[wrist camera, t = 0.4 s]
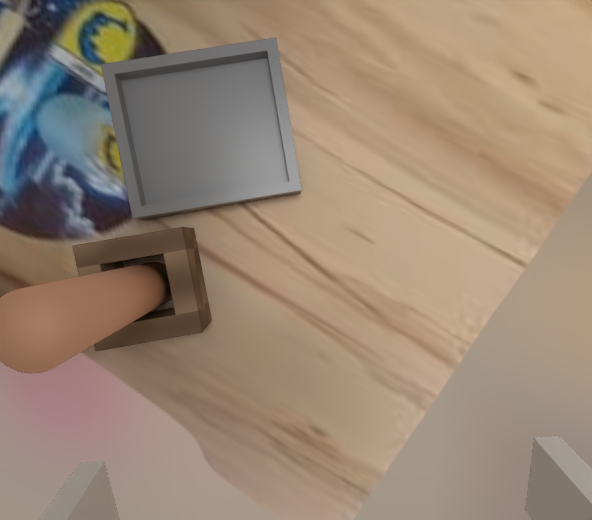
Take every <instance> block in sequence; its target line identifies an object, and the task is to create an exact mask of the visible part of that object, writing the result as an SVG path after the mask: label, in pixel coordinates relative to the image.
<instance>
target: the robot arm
mask: <svg viewBox="0 0 592 520" xmlns="http://www.w3.org/2000/svg"><path fill="white" fill-rule="evenodd" d="M525 510H526V511H527V513H528V514H529V516H530V517H531V519H532V520H592V469H591V468H590V467H589V466H588V465H587V464H586V463H585V462H584V461H583V460H582V459H581V458H580V457H579V456H578V455H577V454H576V453H575V452H574V451H573V449H571V447H570V446H569V445H567V443H566V442H565V441H564V440H563V439H562V438H561V437H560V436H558V437H541V438H534V442H533V450H532V459H531V466H530V474H529V482H528V491H527V498H526V506H525ZM39 520H119V516H118V512H117V508H116V504H115V500H114V496H113V493H112V489H111V485H110V481H109V477H108V473H107V469H106V466H105V462H85V463H80V464H79V465H78V466H77V468H76V469H75V471H74V472H73V473H72V475H71V476H70V477H69V479H68V480H67V481H66V483H65V484H64V485H63V487H62V488H61V490H60V491H59V492H58V494H57V495H56V496H55V498H54V499H53V501H52V502H51V503H50V505H49V506H48V507H47V509H46V510H45V511H44V513H43V514H42V515H41V517H40V518H39Z"/></svg>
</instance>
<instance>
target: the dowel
mask: <svg viewBox="0 0 592 520" xmlns="http://www.w3.org/2000/svg"><path fill="white" fill-rule="evenodd" d="M171 298H172V294H171V289H170V284H169V279H168V274H167V269H166V264H165V263H163V262H158V261H154V262H148V263H143V264H138V265H133V266H128V267H124V268H119V269H114V270H109V271H104V272H99V273H94V274H89V275H85V276H80V277H75V278H70V279H65V280H60V281H55V282H51V283H46V284H41V285H36V286H31V287H26V288H21V289H17V290H14V291H11V292H9V293H7V294H5V295H4V296H2V297H1V298H0V361H1V362H2V363H4V364H5V365H6V366H8V367H10V368H11V369H14V370H16V371H20V372H24V373H40V372H45V371H48V370H50V369H53V368H54V367H56V366H58V365H60V364H61V363H63V362H65V361H66V360H68V359H70V358H72V357H73V356H75V355H77V354H78V353H80V352H82V351H84V350H85V349H87V348H89V347H90V346H92V345H94V344H96V343H97V342H99V341H101V340H102V339H104V338H106V337H108V336H109V335H111V334H113V333H114V332H116V331H118V330H120V329H121V328H123V327H125V326H126V325H128V324H130V323H131V322H133V321H135V320H137V319H138V318H140V317H142V316H143V315H145V314H147V313H149V312H150V311H152V310H154V309H155V308H157V307H159V306H160V305H162V304H164V303H166V302H167V301H169V300H170V299H171Z"/></svg>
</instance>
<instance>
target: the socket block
mask: <svg viewBox="0 0 592 520" xmlns="http://www.w3.org/2000/svg"><path fill="white" fill-rule="evenodd" d="M72 247H73V251H74V256H75V260H76V265H77V269H78V274H79V277H80V276H85V275H89V274H94V273H99V272H104V271H109V270H114V269H119V268H124V264H123V261H124V260H129V259H135V258H141V257H147V256H153V255H159V254H164V259H165V264H166V269H167V274H168V279H169V284H170V289H171V294H172V299H173V304H174V308H168V309H163V310H157V311H151V312H149V313H147V314H145V315H143V316H142V317H140V318H138V319H137V320H135V321H133V322H131V323H130V324H128V325H126V326H125V327H123V328H121V329H120V330H118V331H116V332H114V333H113V334H111V335H109V336H108V337H106V338H104V339H102V340H101V341H99V342H97V343H96V344H94V346H95V351H101V350H106V349H112V348H118V347H123V346H129V345H134V344H140V343H145V342H151V341H156V340H162V339H168V338H173V337H179V336H184V335H190V334H195V333H201V332H203V331H204V329H205V328H206V327H207V326H208V324H209V323H210V322H211V321H212V319H211V314H210V309H209V304H208V298H207V293H206V288H205V283H204V278H203V273H202V267H201V262H200V257H199V252H198V247H197V241H196V236H195V231H194V228H184V227H180V228H174V229H168V230H162V231H157V232H151V233H145V234H139V235H133V236H127V237H121V238H115V239H109V240H103V241H98V242H92V243H86V244H80V245H74V246H72Z"/></svg>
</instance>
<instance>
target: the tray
mask: <svg viewBox="0 0 592 520" xmlns="http://www.w3.org/2000/svg"><path fill="white" fill-rule="evenodd" d="M101 67H102V72H103V77H104V82H105V87H106V91H107V96H108V101H109V106H110V111H111V116H112V120H113V125H114V130H115V135H116V140H117V145H118V150H119V154H120V159H121V164H122V169H123V174H124V179H125V183H126V188H127V193H128V198H129V203H130V208H131V213H132V217H133V218H134V219H142V220H144V219H150V218H156V217H162V216H167V215H173V214H179V213H185V212H191V211H197V210H203V209H209V208H215V207H221V206H227V205H233V204H239V203H245V202H251V201H257V200H263V199H269V198H274V197H280V196H286V195H292V194H298V193H300V192H301V190H302V189H301V183H300V177H299V171H298V166H297V160H296V154H295V148H294V142H293V136H292V130H291V124H290V118H289V112H288V106H287V100H286V94H285V88H284V82H283V76H282V70H281V64H280V58H279V52H278V46H277V41H276V38H270V39H263V40H257V41H250V42H244V43H237V44H231V45H224V46H218V47H211V48H205V49H198V50H191V51H185V52H178V53H172V54H165V55H159V56H152V57H146V58H139V59H133V60H126V61H120V62H113V63H107V64H101Z"/></svg>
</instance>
